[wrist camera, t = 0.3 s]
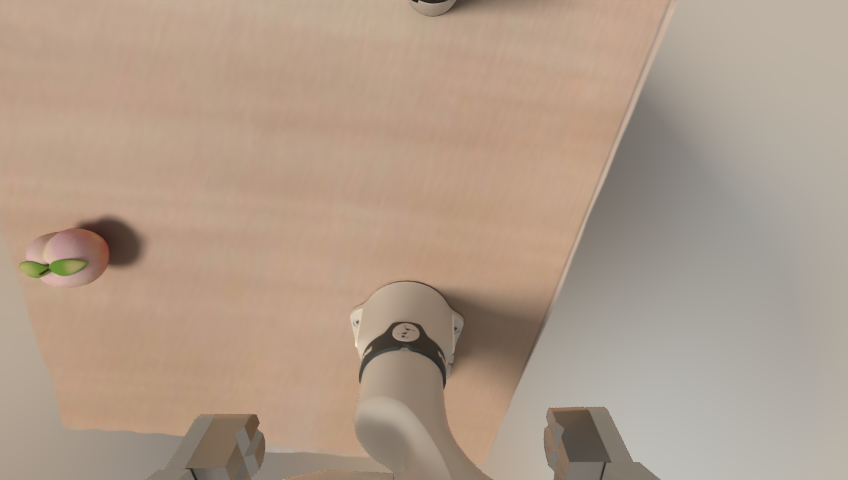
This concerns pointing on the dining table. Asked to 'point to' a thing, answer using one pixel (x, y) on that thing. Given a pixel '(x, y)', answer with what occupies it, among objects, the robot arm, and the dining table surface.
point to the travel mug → (432, 6)
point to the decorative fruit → (67, 258)
